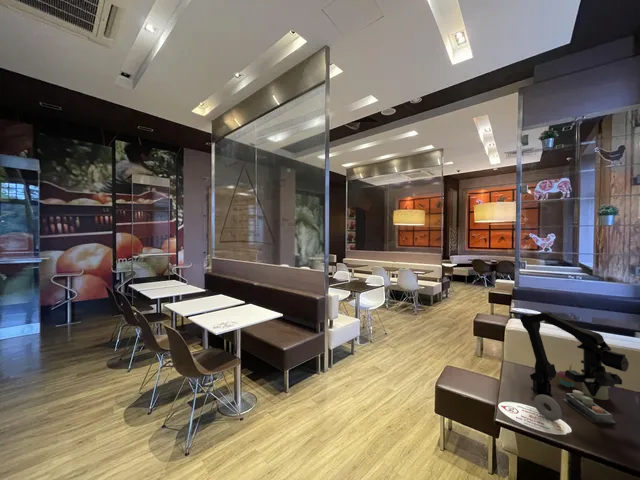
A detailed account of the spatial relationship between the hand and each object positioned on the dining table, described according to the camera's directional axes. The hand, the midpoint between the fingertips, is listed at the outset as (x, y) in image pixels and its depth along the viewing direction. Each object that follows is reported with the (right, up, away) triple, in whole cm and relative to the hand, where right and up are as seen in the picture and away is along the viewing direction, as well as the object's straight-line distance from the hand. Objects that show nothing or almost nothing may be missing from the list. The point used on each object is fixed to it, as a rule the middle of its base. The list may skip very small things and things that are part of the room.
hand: (592, 396), depth 117 cm
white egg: (+1, -6, +8) cm, 10 cm away
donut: (-22, -9, -2) cm, 24 cm away
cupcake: (+12, -9, +25) cm, 29 cm away
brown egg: (0, -8, -2) cm, 8 cm away
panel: (+1, -9, +3) cm, 9 cm away
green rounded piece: (+1, -6, +3) cm, 7 cm away
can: (+18, -9, +16) cm, 25 cm away
